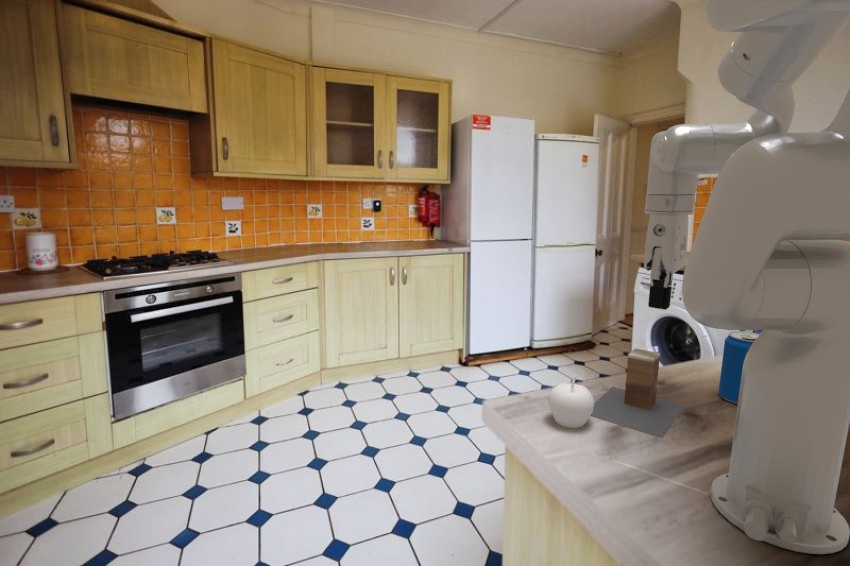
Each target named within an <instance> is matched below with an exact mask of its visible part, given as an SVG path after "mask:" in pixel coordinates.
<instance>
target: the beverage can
mask: <svg viewBox="0 0 850 566" xmlns="http://www.w3.org/2000/svg"><path fill="white" fill-rule="evenodd" d="M759 335H760V333H757V332H751V331H746V330H731V331H730V332H729V333H728V336H727V337H725V339H724V345H723V352H722V361H721V370H720V376H719V384H718V391H717V393H718V395H719V396H720V397H721V398H723V399H724V400H726V401H728V402H730V403H732V404H736V405H738V399H739V391H740V384H741V376H742V370H743V364H744V360H745V357H746V355H747V353H748V351H749V349H750V347H751V345H752V344H753V342H754V341H755V340H756V338H757V337H758V336H759Z"/></svg>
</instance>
